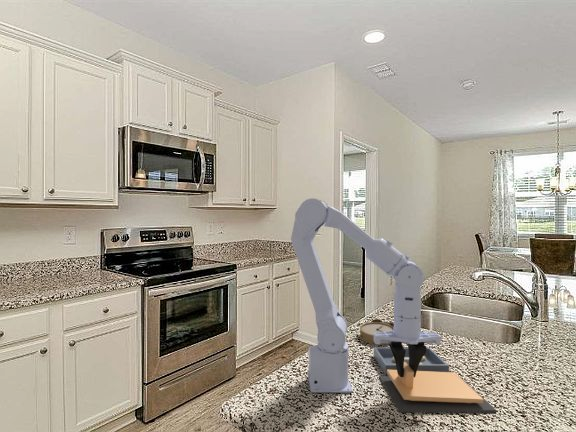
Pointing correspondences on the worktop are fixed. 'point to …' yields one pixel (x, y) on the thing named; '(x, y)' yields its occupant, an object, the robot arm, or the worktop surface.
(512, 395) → the worktop surface
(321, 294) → the robot arm
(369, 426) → the worktop surface
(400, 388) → the lid
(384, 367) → the blue-grey tray
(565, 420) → the worktop surface
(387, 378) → the mat
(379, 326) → the alarm clock
